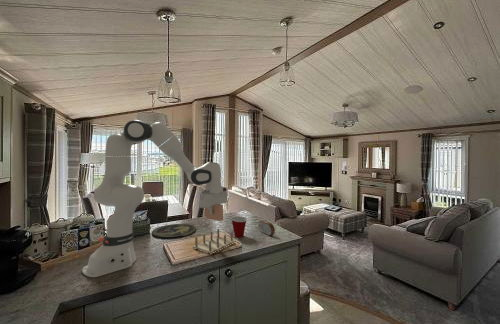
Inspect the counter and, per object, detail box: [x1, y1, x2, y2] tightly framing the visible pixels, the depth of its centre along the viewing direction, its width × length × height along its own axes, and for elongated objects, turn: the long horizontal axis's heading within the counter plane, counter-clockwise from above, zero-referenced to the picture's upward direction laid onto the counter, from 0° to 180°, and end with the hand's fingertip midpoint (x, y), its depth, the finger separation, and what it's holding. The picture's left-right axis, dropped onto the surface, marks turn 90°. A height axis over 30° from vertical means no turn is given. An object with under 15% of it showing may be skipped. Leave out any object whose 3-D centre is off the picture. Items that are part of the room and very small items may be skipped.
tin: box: [258, 219, 276, 236], centre depth 155 cm, size 15×3×8 cm, turn 34°
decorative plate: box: [151, 223, 197, 240], centre depth 161 cm, size 30×2×30 cm
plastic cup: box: [230, 215, 248, 238], centre depth 150 cm, size 11×11×12 cm
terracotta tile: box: [204, 204, 224, 222], centre depth 134 cm, size 2×12×9 cm, turn 54°
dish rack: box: [192, 228, 236, 255], centre depth 134 cm, size 20×15×6 cm
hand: (214, 213), depth 134 cm, fingers closed on terracotta tile, 2 cm apart
